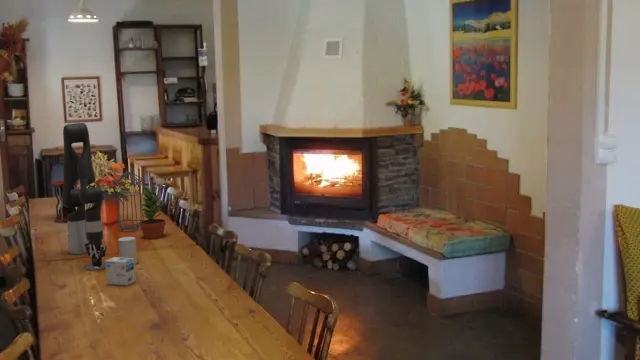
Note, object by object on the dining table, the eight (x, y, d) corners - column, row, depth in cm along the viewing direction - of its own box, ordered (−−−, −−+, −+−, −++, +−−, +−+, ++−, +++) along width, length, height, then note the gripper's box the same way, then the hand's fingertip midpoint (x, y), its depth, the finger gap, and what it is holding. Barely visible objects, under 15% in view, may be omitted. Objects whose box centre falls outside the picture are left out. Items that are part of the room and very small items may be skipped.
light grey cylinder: (132, 265, 342) (130, 240, 340) (116, 264, 343) (114, 240, 341) (140, 260, 349) (138, 236, 348) (124, 260, 351) (122, 236, 349)
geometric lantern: (123, 227, 429) (120, 169, 424) (148, 227, 427) (145, 169, 422) (112, 232, 414) (109, 173, 409) (138, 233, 411) (135, 173, 407)
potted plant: (173, 235, 403) (169, 182, 398) (153, 241, 390) (149, 187, 385) (154, 232, 411) (150, 181, 406) (134, 238, 398) (130, 185, 393)
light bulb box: (136, 281, 314) (134, 257, 313) (127, 285, 308) (125, 261, 307) (115, 279, 318) (113, 256, 316) (106, 284, 312) (104, 260, 310)
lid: (81, 268, 338) (80, 258, 338) (98, 263, 346) (98, 253, 346) (95, 271, 333) (94, 260, 332) (112, 266, 341) (111, 255, 340)
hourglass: (50, 222, 449) (46, 183, 445) (63, 217, 465) (59, 179, 461) (73, 223, 446) (70, 183, 442) (86, 217, 462) (82, 179, 458)
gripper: (78, 230, 338) (81, 265, 340) (97, 232, 330) (100, 269, 332) (91, 226, 344) (94, 261, 346) (110, 229, 336) (113, 265, 339)
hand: (97, 265), depth 339 cm, fingers closed on lid, 3 cm apart
